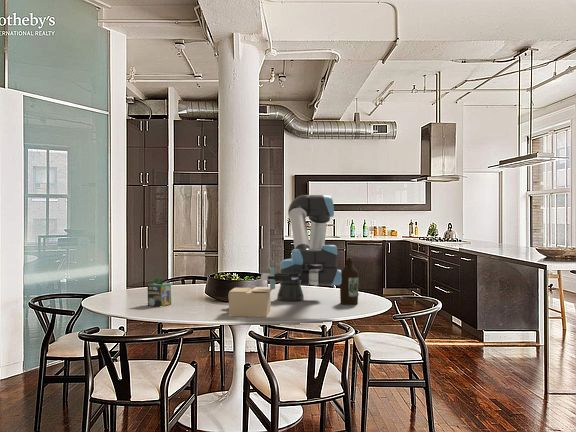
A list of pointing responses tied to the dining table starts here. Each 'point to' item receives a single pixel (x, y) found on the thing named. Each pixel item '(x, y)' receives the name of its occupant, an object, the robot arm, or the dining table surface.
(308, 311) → the dining table surface
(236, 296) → the carton
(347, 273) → the olive oil
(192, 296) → the dining table surface
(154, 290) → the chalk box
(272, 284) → the flap
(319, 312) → the dining table surface
